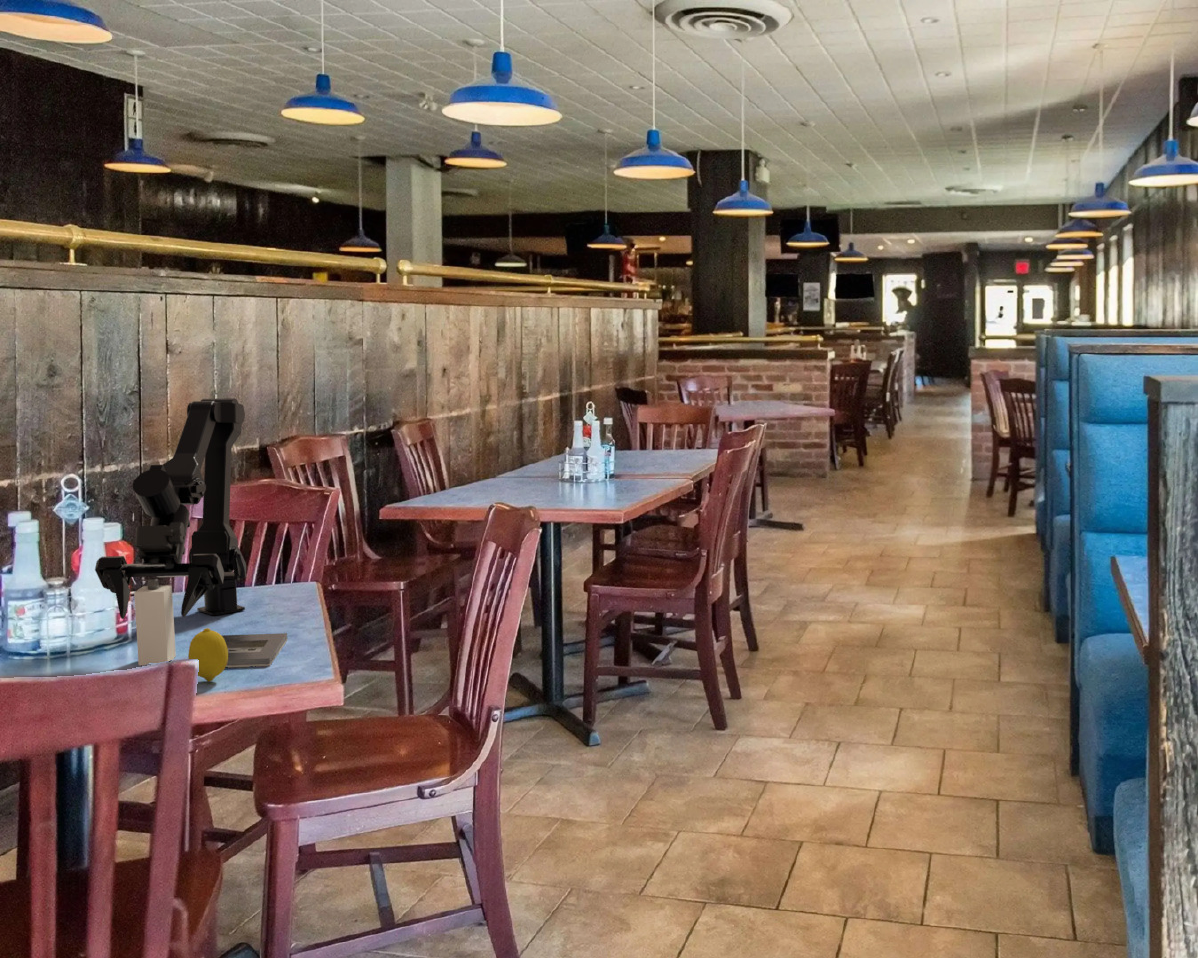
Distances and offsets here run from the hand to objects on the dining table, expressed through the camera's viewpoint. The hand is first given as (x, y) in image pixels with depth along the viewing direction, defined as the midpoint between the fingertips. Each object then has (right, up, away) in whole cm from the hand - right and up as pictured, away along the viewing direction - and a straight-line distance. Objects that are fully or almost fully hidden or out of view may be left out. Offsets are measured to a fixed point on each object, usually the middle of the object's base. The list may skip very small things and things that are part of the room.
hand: (152, 616), depth 191 cm
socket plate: (+12, -7, +6) cm, 15 cm away
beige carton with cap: (0, -7, +2) cm, 7 cm away
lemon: (+12, -9, -10) cm, 18 cm away
